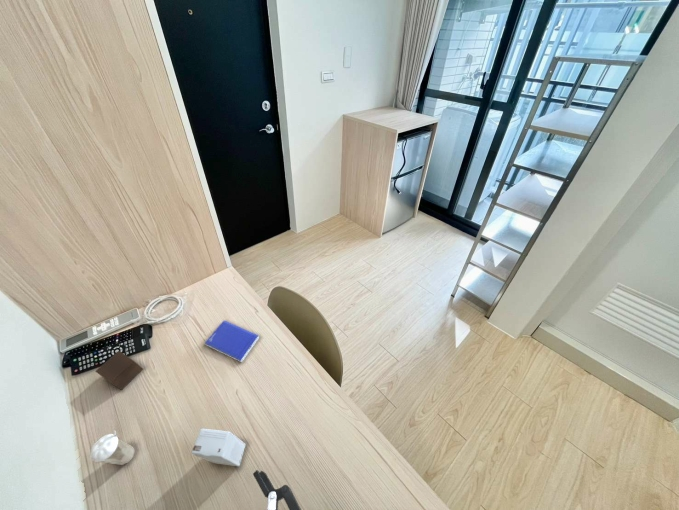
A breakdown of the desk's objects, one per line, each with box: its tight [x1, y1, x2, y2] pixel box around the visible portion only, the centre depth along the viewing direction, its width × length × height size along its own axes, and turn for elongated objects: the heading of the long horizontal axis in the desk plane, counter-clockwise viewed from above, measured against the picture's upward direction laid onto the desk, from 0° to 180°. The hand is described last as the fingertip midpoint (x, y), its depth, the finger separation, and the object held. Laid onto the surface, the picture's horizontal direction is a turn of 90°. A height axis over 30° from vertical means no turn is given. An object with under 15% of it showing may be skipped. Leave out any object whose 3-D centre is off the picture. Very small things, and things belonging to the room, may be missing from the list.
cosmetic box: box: [191, 428, 247, 467], centre depth 55 cm, size 6×4×12 cm
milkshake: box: [89, 428, 136, 466], centre depth 55 cm, size 4×5×10 cm
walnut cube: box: [95, 350, 144, 391], centre depth 69 cm, size 6×6×5 cm
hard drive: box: [204, 320, 260, 363], centre depth 77 cm, size 2×8×12 cm
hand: (230, 496), depth 40 cm, fingers open, 8 cm apart
